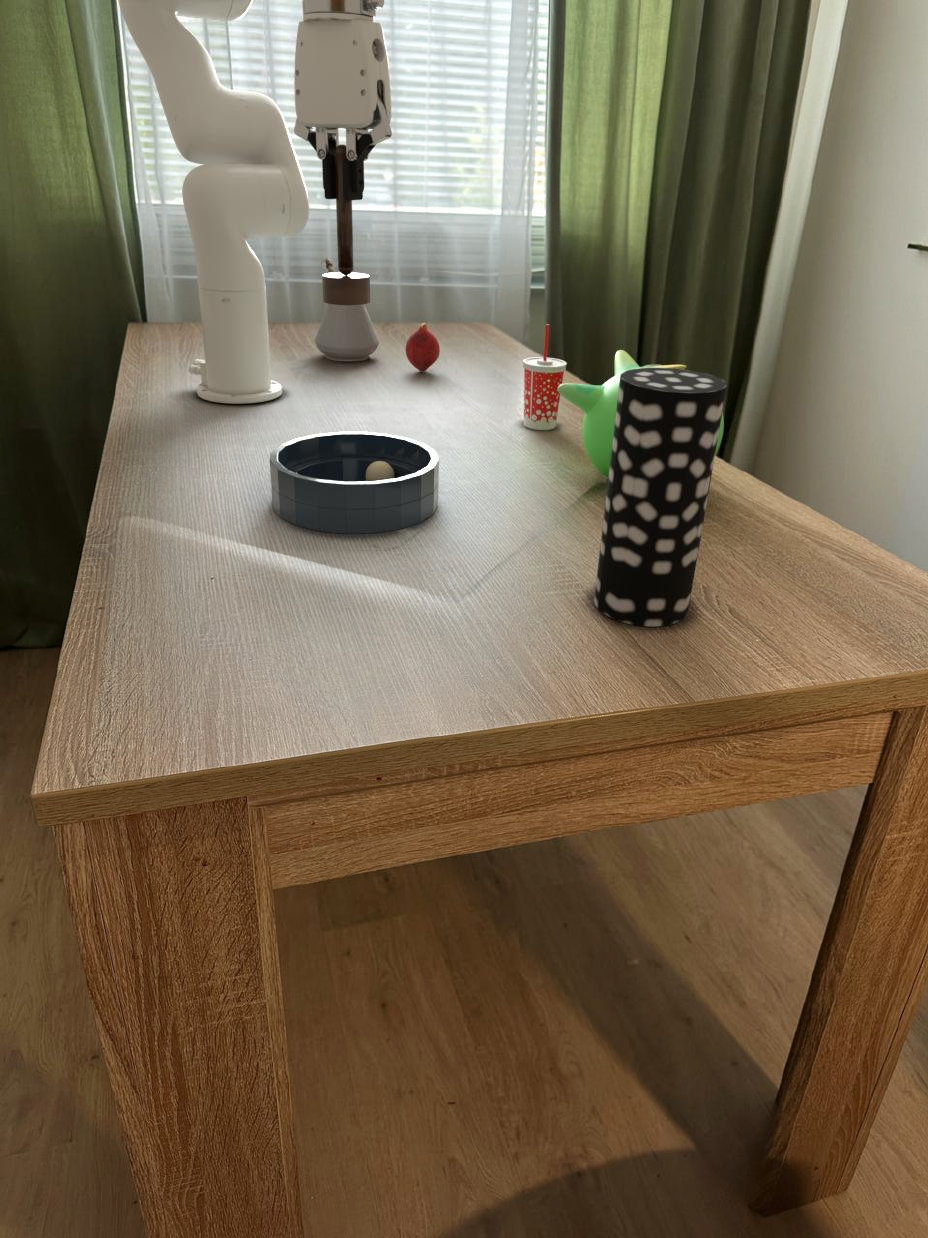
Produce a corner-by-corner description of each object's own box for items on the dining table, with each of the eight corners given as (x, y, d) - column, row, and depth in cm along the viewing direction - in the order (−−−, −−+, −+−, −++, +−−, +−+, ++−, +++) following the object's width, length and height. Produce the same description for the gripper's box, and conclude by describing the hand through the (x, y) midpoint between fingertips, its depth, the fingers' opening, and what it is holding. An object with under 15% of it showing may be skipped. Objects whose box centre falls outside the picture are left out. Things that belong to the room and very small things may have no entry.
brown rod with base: (313, 302, 109) (307, 142, 101) (339, 296, 114) (335, 143, 106) (354, 306, 107) (350, 144, 99) (378, 301, 111) (377, 145, 104)
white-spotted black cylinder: (585, 584, 85) (609, 366, 76) (672, 584, 86) (707, 368, 77) (605, 627, 78) (634, 391, 69) (700, 626, 79) (742, 393, 70)
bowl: (238, 518, 96) (234, 463, 94) (334, 472, 110) (332, 423, 108) (382, 554, 90) (382, 496, 87) (464, 500, 104) (466, 449, 101)
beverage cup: (569, 426, 132) (579, 325, 126) (543, 434, 128) (551, 330, 122) (536, 416, 136) (544, 318, 129) (509, 424, 132) (516, 323, 125)
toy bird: (681, 520, 101) (702, 386, 94) (544, 487, 108) (555, 361, 102) (731, 477, 114) (753, 357, 108) (607, 451, 122) (620, 337, 115)
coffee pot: (386, 362, 163) (386, 273, 156) (322, 365, 160) (319, 273, 153) (357, 338, 181) (356, 257, 174) (299, 340, 177) (295, 257, 170)
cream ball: (360, 490, 103) (359, 462, 101) (375, 482, 106) (375, 455, 104) (384, 495, 102) (384, 468, 100) (399, 487, 104) (399, 460, 103)
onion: (434, 376, 156) (435, 327, 152) (401, 373, 157) (401, 325, 153) (442, 369, 161) (443, 321, 157) (410, 366, 162) (410, 319, 158)
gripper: (421, 9, 97) (420, 201, 105) (297, 13, 103) (305, 195, 111) (385, -1, 91) (387, 204, 99) (255, 4, 97) (267, 196, 105)
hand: (343, 197), depth 105 cm, fingers closed on brown rod with base
